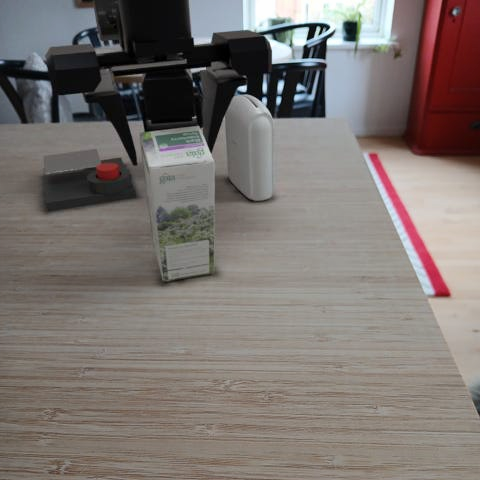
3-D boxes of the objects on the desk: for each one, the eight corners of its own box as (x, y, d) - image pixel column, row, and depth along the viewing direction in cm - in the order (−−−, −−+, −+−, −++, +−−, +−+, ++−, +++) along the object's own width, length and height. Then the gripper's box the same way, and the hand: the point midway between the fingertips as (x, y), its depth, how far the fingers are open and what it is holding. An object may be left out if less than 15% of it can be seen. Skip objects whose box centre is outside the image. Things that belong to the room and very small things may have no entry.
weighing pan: (97, 151, 80) (96, 148, 80) (102, 168, 74) (102, 165, 74) (43, 158, 78) (43, 155, 78) (45, 176, 72) (44, 173, 72)
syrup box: (203, 239, 58) (199, 121, 47) (215, 276, 55) (214, 157, 44) (153, 247, 57) (137, 128, 46) (163, 285, 54) (148, 165, 43)
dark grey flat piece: (122, 165, 83) (119, 147, 81) (136, 199, 72) (133, 178, 70) (45, 176, 80) (40, 157, 78) (48, 213, 69) (42, 192, 67)
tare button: (118, 172, 73) (116, 161, 72) (121, 179, 71) (119, 168, 70) (97, 175, 73) (95, 164, 72) (99, 182, 70) (97, 171, 69)
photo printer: (224, 178, 77) (219, 90, 70) (251, 173, 78) (249, 86, 71) (249, 204, 69) (246, 108, 62) (278, 198, 70) (279, 103, 63)
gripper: (231, -45, 48) (237, 124, 58) (24, -35, 44) (67, 147, 53) (274, -44, 40) (274, 155, 49) (23, -31, 36) (75, 185, 45)
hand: (171, 159), depth 49 cm, fingers open, 7 cm apart
